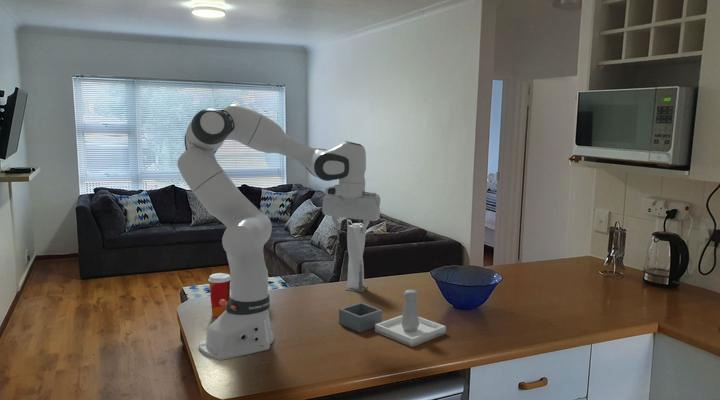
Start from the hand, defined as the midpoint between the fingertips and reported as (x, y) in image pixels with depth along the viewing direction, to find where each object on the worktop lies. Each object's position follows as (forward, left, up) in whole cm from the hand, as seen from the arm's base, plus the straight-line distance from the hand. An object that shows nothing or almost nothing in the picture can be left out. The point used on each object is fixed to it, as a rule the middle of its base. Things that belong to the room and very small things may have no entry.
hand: (350, 231), depth 186 cm
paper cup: (-32, +31, -31) cm, 54 cm away
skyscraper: (+24, +23, -31) cm, 45 cm away
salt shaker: (+5, -23, -30) cm, 38 cm away
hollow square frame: (-1, -7, -30) cm, 31 cm away
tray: (+6, -23, -30) cm, 39 cm away
